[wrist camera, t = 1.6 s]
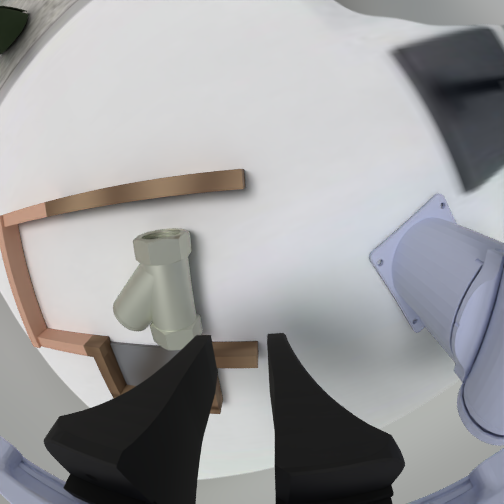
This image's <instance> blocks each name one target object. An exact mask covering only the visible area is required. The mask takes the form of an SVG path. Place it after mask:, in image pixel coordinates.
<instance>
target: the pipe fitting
mask: <svg viewBox="0 0 504 504" xmlns="http://www.w3.org/2000/svg"><path fill="white" fill-rule="evenodd" d="M133 245H134V251H135V257H136V260H137V261H138V262H140V264H139V266H138V267H137V269H136V270H135V272H134V273H133V275H132V276H131V277H130V279H129V280H128V282H127V283H126V285H125V286H124V288H123V289H122V291H121V293H120V294H119V296H118V297H117V299H116V300H115V302H114V304H113V312H114V315H115V317H116V319H117V320H118V321H119V322H120V323H121V324H122V325H123V326H124V327H126V328H127V329H129V330H132V331H142V330H145V329H146V328H147V327H148V325H149V324H150V323H151V322H152V323H151V325H150V328H151V332H152V336H153V340H154V341H155V342H156V343H157V344H158V345H160V346H161V347H163V348H164V349H167V350H181V349H183V348H184V347H185V346H186V345H187V344H188V343H189V342H190V341H191V340H192V339H193V338H194V337H195V336H196V335H201V334H202V331H203V330H202V324H201V317H200V316H199V315H198V314H197V313H196V310H195V304H194V297H193V290H192V283H191V276H190V268H189V260H188V255H189V254H190V253H191V251H192V250H191V241H190V232H188V231H186V230H184V229H162V230H155V231H150V232H147V233H143V234H141V235H139V236H137V237H136V238H135V239H134V240H133Z"/></svg>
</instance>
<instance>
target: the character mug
mask: <svg viewBox="0 0 504 504" xmlns="http://www.w3.org/2000/svg"><path fill="white" fill-rule="evenodd" d="M24 11H25V10H22V9H18V8H13V7H7V6H0V54H2V53H3V52H4V51H6V50H7V48H8V47H9V46H10V45H11V44H12V43H13V42H14V40H15V39H16V38H17V37H18V35H19V34H20V33H21V32H22V30H23V28H24V26H25V24H26V22H27V19H28V14H26V13H23V12H24ZM26 12H27V11H26Z"/></svg>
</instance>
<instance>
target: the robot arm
mask: <svg viewBox="0 0 504 504" xmlns="http://www.w3.org/2000/svg"><path fill="white" fill-rule="evenodd" d="M441 203H442V204H443V206H442V208H441ZM369 259H370V261H371V262H372V264H373V265H374V267H375V268H376V270H377V271H378V273H379V275H380V276H381V278H382V279H383V281H384V282H385V284H386V285H387V287H388V289H389V290H390V292H391V293H392V295H393V297H394V298H395V300H396V302H397V303H398V305H399V307H400V308H401V310H402V312H403V313H404V315H405V317H406V318H407V320H408V322H409V324H410V325H411V327H412V329H413V330H414V331H415V332H419V331H421V330H422V329H423V328H424V327H426V329H427V330H428V331H429V332H430V333H431V334H432V335H433V337H434V338H435V339H436V340H437V341H438V343H439V344H440V345H441V346H442V347H443V349H444V350H445V351H446V352H447V353H448V355H449V356H450V357H451V358H452V360H453V361H454V362H455V363H456V365H455V368H454V372H455V373H456V374H457V376H458V377H459V378H460V380H461V381H462V382H463V384H462V385H461V388H460V389H459V393H458V398H457V408H458V412H459V416H460V418H461V420H462V422H463V424H464V425H465V427H466V428H467V430H468V431H469V432H470V433H471V434H472V435H474V436H475V437H476V438H477V439H479V440H481V441H483V442H485V443H488V444H491V445H498V446H501V445H504V243H502V242H500V241H497V240H495V239H493V238H490V237H488V236H485V235H483V234H481V233H478V232H476V231H473V230H471V229H468V228H465V227H463V226H460V225H457V224H456V222H455V219H454V217H453V215H452V213H451V210H450V208H449V206H448V204H447V202H446V200H445V198H444V196H443V195H442V194H439V193H438V194H435V195H434V196H433V197H432V198H431V199H430V200H429V201H428V202H427V203H426V204H425V205H424V206H423V207H422V208H421V209H420V210H419V211H417V212H416V213H415V214H414V215H413V216H412V217H411V218H410V219H409V220H408V221H407V222H405V223H404V224H403V225H402V226H401V227H400V228H399V229H398V230H396V231H395V232H394V233H393V234H392V235H391V236H390V237H388V238H387V239H386V240H385V241H384V242H383V243H382V244H380V245H379V246H378V247H377V248H376V249H374V250H373V251H372V252H371V253H370V256H369ZM380 259H381V260H382V261H381V263H380V264H379V265H378V264H377V262H378V260H380ZM414 319H415V321H413V320H414ZM267 347H268V365H269V384H270V397H271V405H272V413H273V421H274V429H275V489H276V504H392V500H391V497H392V496H393V490H392V486H391V484H392V483H393V482H394V481H395V479H396V478H397V477H398V476H399V475H400V473H401V472H402V470H403V468H404V466H405V462H404V458H403V456H402V453H401V451H400V449H399V447H398V446H397V444H396V442H395V440H394V439H393V437H392V436H391V435H390V434H388V433H386V432H384V431H381V430H379V429H377V428H375V427H373V426H371V425H369V424H367V423H366V422H364V421H362V420H361V419H359V418H358V417H356V416H355V415H353V414H352V413H350V412H349V411H348V410H346V409H345V408H344V407H342V406H341V405H340V404H338V403H337V402H336V401H335V400H334V399H333V398H331V397H330V396H329V395H328V394H327V393H326V392H325V391H324V390H323V389H322V388H321V387H320V386H319V385H318V384H317V383H316V382H315V380H314V379H313V378H312V377H311V376H310V374H309V373H308V372H307V371H306V369H305V368H304V367H303V365H302V364H301V362H300V361H299V360H298V358H297V357H296V355H295V353H294V352H293V350H292V348H291V346H290V344H289V342H288V340H287V337H286V335H285V334H284V333H276V334H268V336H267ZM217 376H218V371H217V366H216V360H215V355H214V350H213V345H212V339H211V335H196V336H195V337H194V338H193V339H192V340H191V341H190V342H189V343H188V344H187V345H186V346H185V347H184V348H183V349H181V350H180V351H179V352H178V353H177V354H176V355H175V356H174V357H173V358H172V359H171V360H170V361H169V362H168V363H166V364H165V365H164V366H163V367H161V368H160V369H159V370H158V371H157V372H155V373H154V374H153V375H152V376H150V377H149V378H148V379H146V380H145V381H143V382H142V383H140V384H139V385H137V386H136V387H134V388H132V389H131V390H129V391H127V392H125V393H123V394H121V395H120V396H118V397H116V398H114V399H112V400H110V401H107V402H105V403H103V404H100V405H98V406H95V407H92V408H89V409H86V410H83V411H79V412H76V413H72V414H68V415H64V416H60V417H59V418H58V419H57V421H56V422H55V424H54V425H53V427H52V428H51V430H50V431H49V433H48V434H47V436H46V437H45V439H44V444H45V447H46V448H47V450H48V451H49V452H50V454H51V455H52V456H53V457H54V458H55V459H56V460H57V461H58V462H59V463H60V464H61V465H62V466H63V467H64V468H65V469H66V470H67V471H68V472H69V473H70V476H69V477H68V479H67V481H66V482H65V481H63V480H61V479H59V478H57V477H56V476H54V475H52V474H50V473H48V472H47V471H45V470H43V469H41V468H40V467H38V466H37V465H35V464H33V463H32V462H30V461H29V460H27V459H26V458H24V457H23V456H22V454H21V453H20V452H19V451H18V450H17V449H16V448H15V447H14V446H13V445H12V444H10V443H9V442H8V441H7V440H5V439H4V438H3V437H1V436H0V494H1V495H2V496H3V497H4V498H5V499H7V500H8V501H9V502H10V503H11V504H195V501H196V488H197V478H198V469H199V461H200V453H201V446H202V441H203V436H204V432H205V429H206V425H207V421H208V418H209V414H210V411H211V407H212V403H213V400H214V396H215V391H216V384H217ZM407 504H504V448H503V449H501V450H500V451H498V452H497V453H495V454H494V455H492V456H491V457H489V458H488V459H486V460H485V461H483V462H482V463H481V464H479V465H478V466H477V467H476V468H475V469H473V470H472V472H471V473H470V474H469V475H468V476H466V477H465V478H463V479H461V480H459V481H457V482H455V483H453V484H451V485H449V486H447V487H445V488H443V489H441V490H439V491H437V492H435V493H432V494H430V495H428V496H425V497H423V498H420V499H418V500H415V501H413V502H410V503H407Z"/></svg>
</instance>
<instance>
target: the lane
mask: <svg viewBox="0 0 504 504" xmlns="http://www.w3.org/2000/svg"><path fill="white" fill-rule="evenodd" d="M244 188H245V175H244V169H235V170H224V171H214V172H205V173H196V174H188V175H181V176H173V177H166V178H159V179H153V180H147V181H141V182H135V183H129V184H124V185H118V186H113V187H108V188H103V189H98V190H94V191H89V192H85V193H80V194H76V195H72V196H68V197H64V198H60V199H56V200H52V201H48V202H45V208H46V215H47V217H49V216H53V215H58V214H63V213H68V212H73V211H78V210H83V209H89V208H94V207H100V206H106V205H112V204H118V203H124V202H131V201H138V200H145V199H152V198H159V197H167V196H176V195H184V194H193V193H203V192H213V191H224V190H236V189H244ZM212 345H213V350H214V355H215V360H216V366H217V368H258V341H245V342H212ZM83 346H84V349H85V351H86V353H87V356H90V357H94V359H95V361H96V363H97V366H98V368H99V370H100V372H101V374H102V376H103V378H104V380H105V382H106V385H107V387H108V388H109V390H110V392H111V394H112V396H113V398H116V397H118V396H120V395H121V394H123V393H125V392H127V391H129V390H131V389H132V388H134V387H136V386H137V385H139V384H140V383H142V382H143V381H145V380H146V379H148V378H149V377H150V376H152V375H153V374H154V373H155V372H157V371H158V370H159V369H160V368H161V367H163V366H164V365H165V364H166V363H168V362H169V361H170V360H171V359H172V358H173V357H174V356H175V355H176V354H177V353H178V352H179V351H180V350H167V349H164V348H163V347H161V346H154V345H140V344H128V343H118V342H111V341H110V339H109V337H108V336H99V335H93V336H92V337H91V338H90V339H89V340H88V341H87V342H86V343H85V344H84V345H83ZM222 402H223V397H222V393H221V388H220V383H219V378H218V376H217V384H216V391H215V396H214V400H213V403H212V407H211V411H210V414H220V413H221V407H222Z"/></svg>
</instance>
